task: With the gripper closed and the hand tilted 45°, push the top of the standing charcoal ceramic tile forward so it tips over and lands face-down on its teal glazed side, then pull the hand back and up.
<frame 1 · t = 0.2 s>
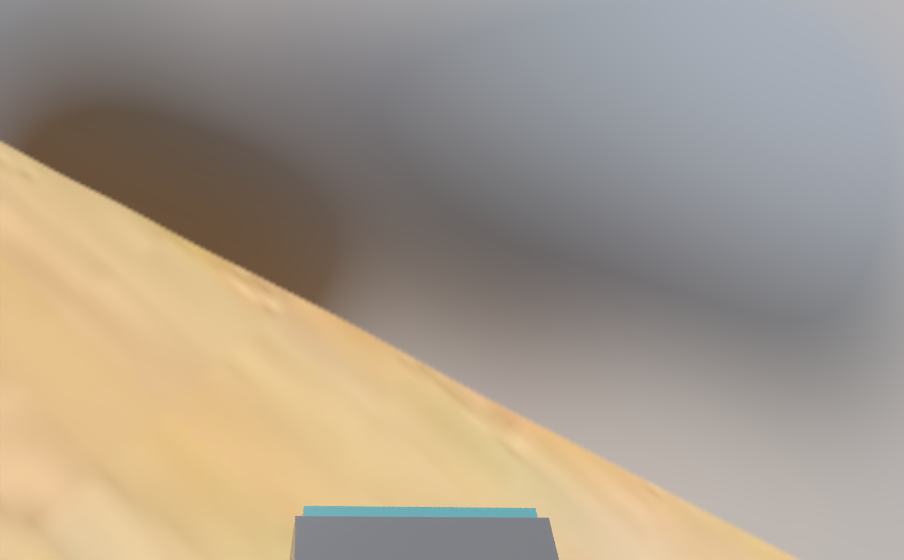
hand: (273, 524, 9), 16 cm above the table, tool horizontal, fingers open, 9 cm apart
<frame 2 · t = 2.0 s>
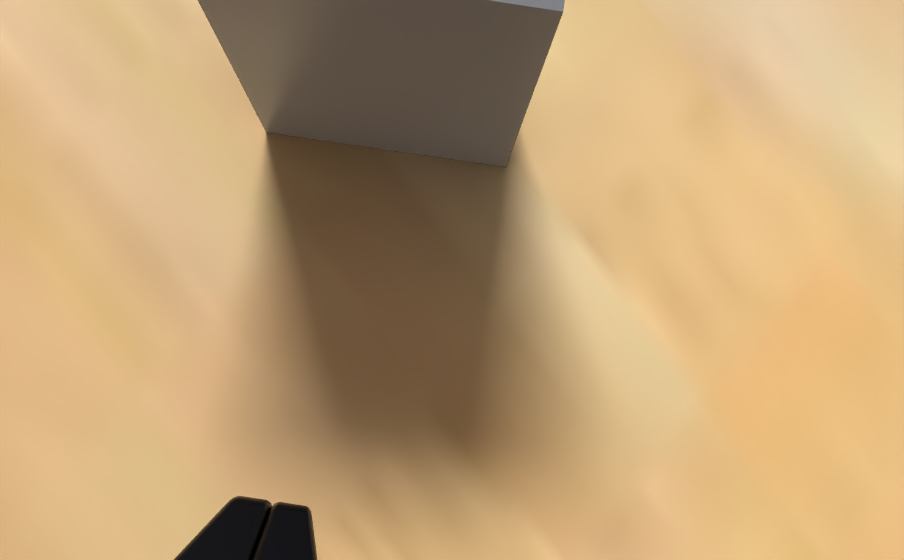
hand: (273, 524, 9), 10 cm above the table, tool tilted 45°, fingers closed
glazed tile: (392, 111, 21), on the table
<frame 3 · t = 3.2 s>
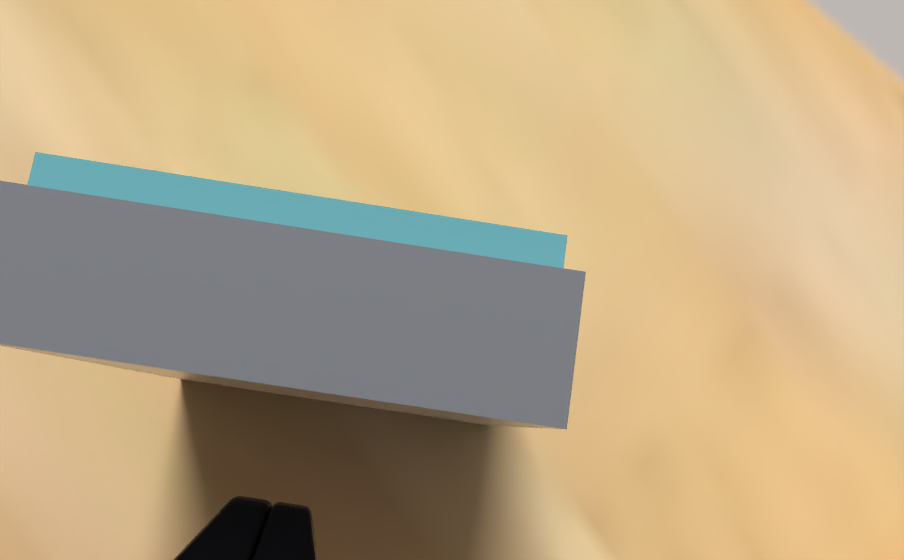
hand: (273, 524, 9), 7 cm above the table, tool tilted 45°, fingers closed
glazed tile: (344, 351, 16), on the table
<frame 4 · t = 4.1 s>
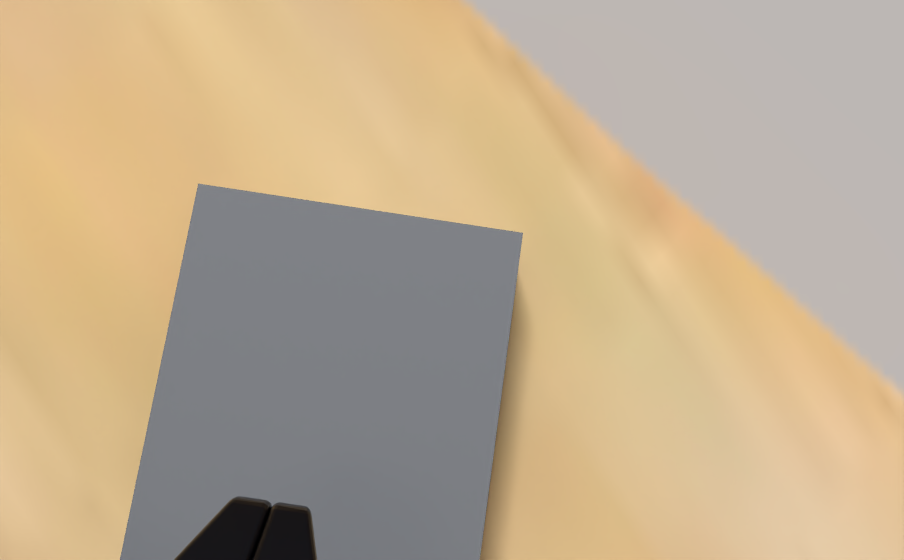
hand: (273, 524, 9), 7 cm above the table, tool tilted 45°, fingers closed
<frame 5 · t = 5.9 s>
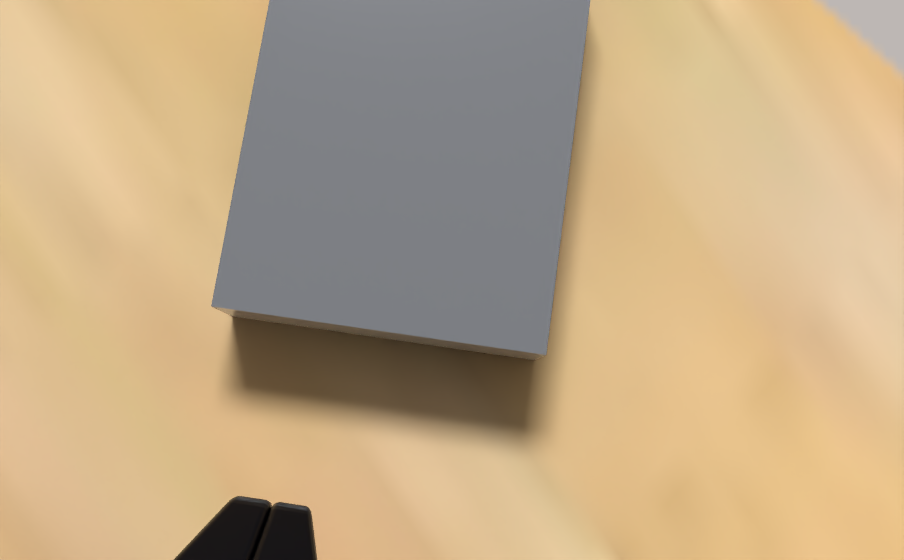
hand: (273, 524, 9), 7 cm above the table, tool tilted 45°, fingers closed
glazed tile: (382, 335, 16), point 1 cm above the table, tilted 90°
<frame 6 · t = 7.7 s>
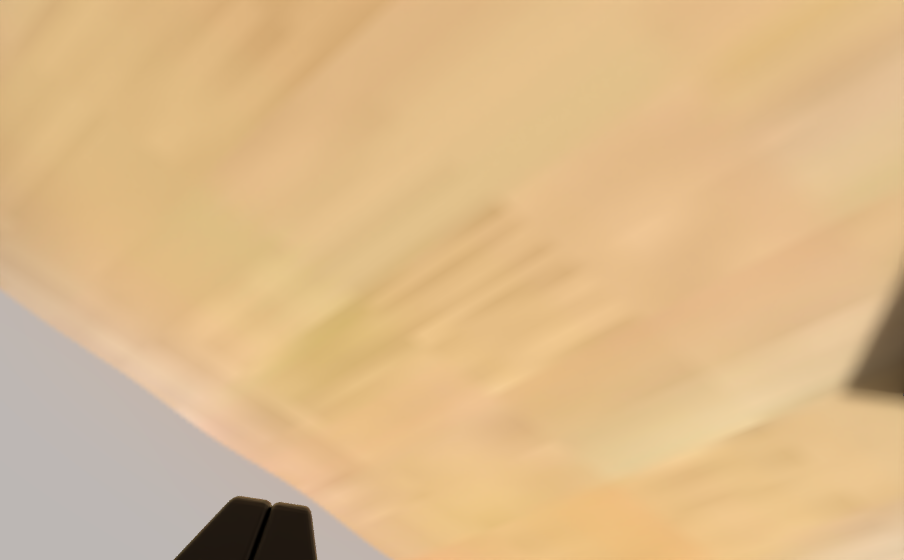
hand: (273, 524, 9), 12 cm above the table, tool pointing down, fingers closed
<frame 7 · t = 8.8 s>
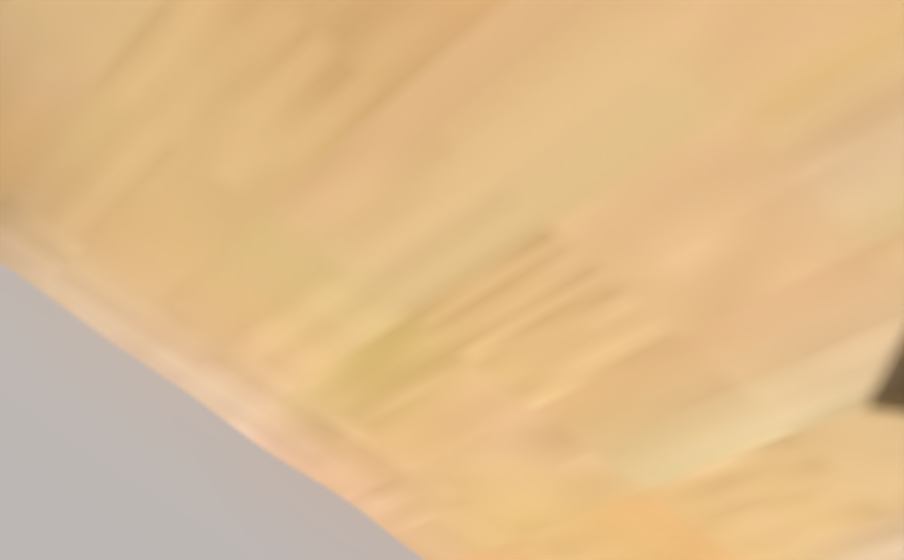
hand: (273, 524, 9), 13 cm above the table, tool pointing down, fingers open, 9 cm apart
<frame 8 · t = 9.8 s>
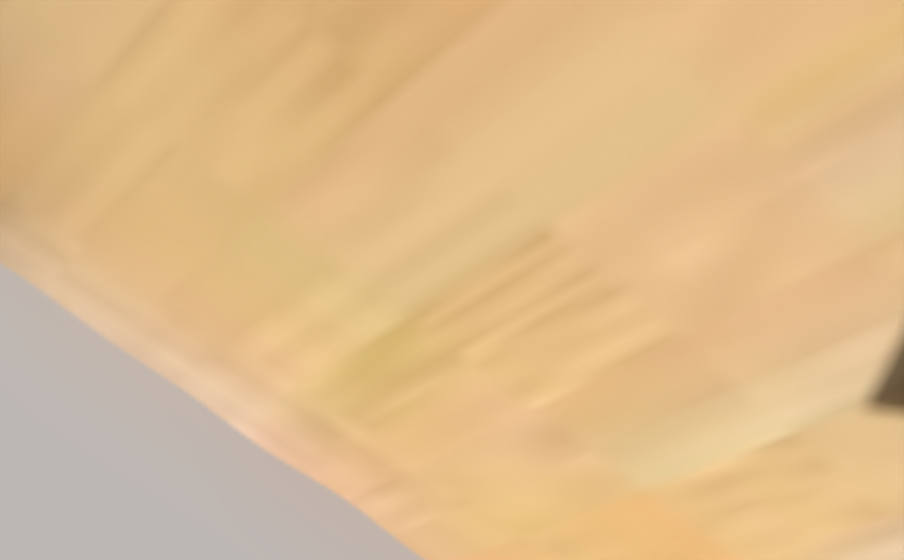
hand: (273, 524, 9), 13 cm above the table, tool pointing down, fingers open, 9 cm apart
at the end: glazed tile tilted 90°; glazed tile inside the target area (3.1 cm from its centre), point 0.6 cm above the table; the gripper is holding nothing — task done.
